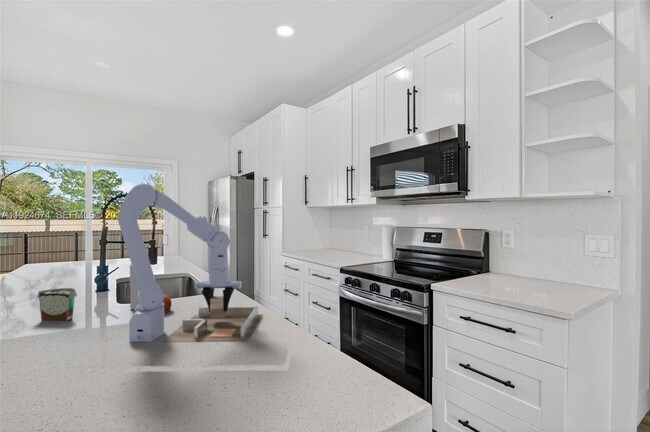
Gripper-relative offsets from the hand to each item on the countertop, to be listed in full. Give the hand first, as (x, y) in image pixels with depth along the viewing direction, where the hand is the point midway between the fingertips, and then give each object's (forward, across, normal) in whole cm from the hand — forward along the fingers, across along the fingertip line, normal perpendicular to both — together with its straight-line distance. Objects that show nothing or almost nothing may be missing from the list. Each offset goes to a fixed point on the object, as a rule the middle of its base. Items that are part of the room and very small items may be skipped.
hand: (218, 310), depth 106 cm
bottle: (+5, +36, -20) cm, 42 cm away
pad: (+4, -4, +10) cm, 12 cm away
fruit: (+5, +25, -12) cm, 28 cm away
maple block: (+2, 0, 0) cm, 2 cm away
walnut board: (+5, -1, +4) cm, 6 cm away
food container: (+5, +56, -8) cm, 56 cm away
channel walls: (+4, -1, +3) cm, 5 cm away
